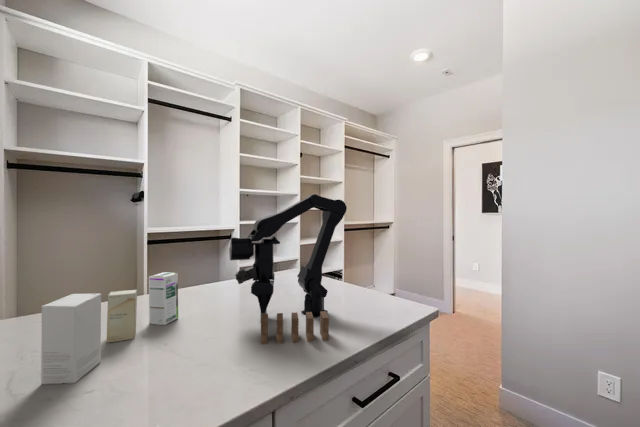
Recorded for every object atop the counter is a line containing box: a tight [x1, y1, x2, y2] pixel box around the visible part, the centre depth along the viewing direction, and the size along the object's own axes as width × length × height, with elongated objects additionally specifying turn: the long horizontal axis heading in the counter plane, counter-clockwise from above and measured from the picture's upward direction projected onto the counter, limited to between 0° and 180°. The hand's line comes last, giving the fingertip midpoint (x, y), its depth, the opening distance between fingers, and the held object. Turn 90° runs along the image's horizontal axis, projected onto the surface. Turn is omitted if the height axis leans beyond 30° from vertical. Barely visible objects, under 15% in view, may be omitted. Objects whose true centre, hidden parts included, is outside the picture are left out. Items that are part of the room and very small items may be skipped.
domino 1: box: [260, 313, 269, 345], centre depth 76 cm, size 2×5×6 cm, turn 8°
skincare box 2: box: [106, 289, 138, 343], centre depth 77 cm, size 6×4×12 cm
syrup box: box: [148, 271, 179, 326], centre depth 89 cm, size 6×6×14 cm
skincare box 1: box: [40, 292, 102, 385], centre depth 60 cm, size 8×7×16 cm
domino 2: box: [276, 312, 284, 344], centre depth 77 cm, size 2×5×6 cm, turn 8°
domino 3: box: [290, 312, 300, 343], centre depth 78 cm, size 2×5×6 cm, turn 8°
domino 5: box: [319, 311, 330, 342], centre depth 79 cm, size 2×5×6 cm, turn 8°
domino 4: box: [305, 312, 315, 342], centre depth 78 cm, size 2×5×6 cm, turn 8°
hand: (263, 308), depth 90 cm, fingers open, 8 cm apart
